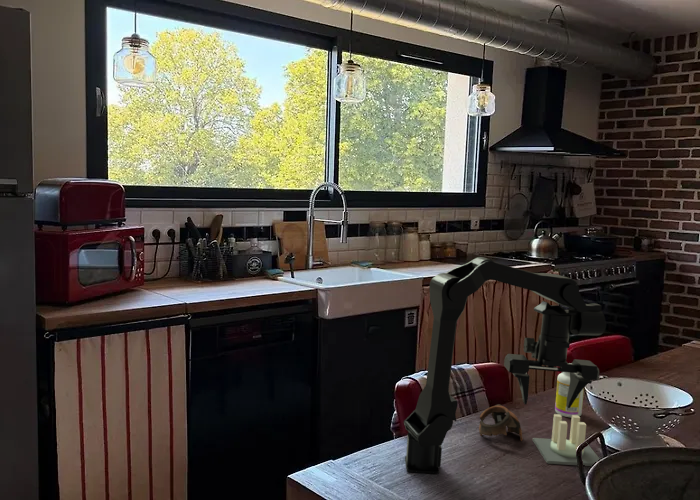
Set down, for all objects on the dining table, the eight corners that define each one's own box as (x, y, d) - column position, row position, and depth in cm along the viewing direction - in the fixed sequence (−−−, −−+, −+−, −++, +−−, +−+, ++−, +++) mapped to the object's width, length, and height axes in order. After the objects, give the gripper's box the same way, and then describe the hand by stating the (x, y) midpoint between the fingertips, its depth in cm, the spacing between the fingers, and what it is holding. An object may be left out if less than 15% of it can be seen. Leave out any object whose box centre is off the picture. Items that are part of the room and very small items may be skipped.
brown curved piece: (529, 448, 144) (517, 420, 141) (489, 461, 145) (477, 434, 143) (518, 416, 155) (507, 389, 152) (481, 428, 157) (469, 402, 154)
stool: (555, 456, 137) (558, 424, 136) (546, 443, 144) (549, 412, 143) (588, 458, 137) (591, 426, 136) (577, 445, 144) (580, 414, 143)
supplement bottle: (564, 407, 170) (568, 360, 169) (586, 415, 165) (591, 367, 163) (549, 411, 166) (553, 364, 165) (571, 420, 161) (576, 371, 159)
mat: (547, 463, 135) (547, 460, 135) (532, 440, 147) (532, 437, 147) (604, 466, 135) (604, 464, 135) (584, 443, 147) (585, 440, 147)
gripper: (585, 329, 143) (577, 396, 144) (502, 322, 143) (495, 389, 145) (604, 341, 132) (595, 414, 133) (514, 334, 132) (506, 406, 133)
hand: (546, 405), depth 136 cm, fingers open, 9 cm apart
